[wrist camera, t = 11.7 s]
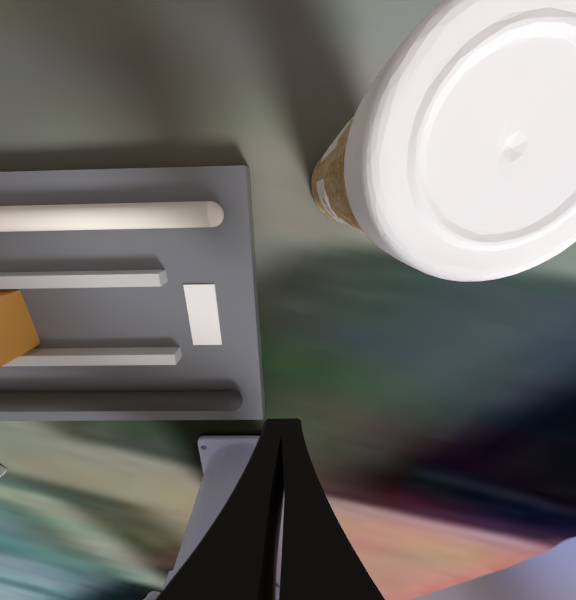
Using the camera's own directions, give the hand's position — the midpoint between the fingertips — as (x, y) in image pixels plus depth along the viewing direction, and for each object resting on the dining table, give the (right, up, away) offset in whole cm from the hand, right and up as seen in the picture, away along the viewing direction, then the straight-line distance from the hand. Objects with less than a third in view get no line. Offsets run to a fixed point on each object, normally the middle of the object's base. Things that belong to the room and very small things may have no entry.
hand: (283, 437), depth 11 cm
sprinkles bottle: (+4, +13, +6) cm, 15 cm away
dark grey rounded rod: (-14, -2, +10) cm, 17 cm away
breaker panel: (-14, +5, +9) cm, 17 cm away
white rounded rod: (-14, +10, +5) cm, 18 cm away
